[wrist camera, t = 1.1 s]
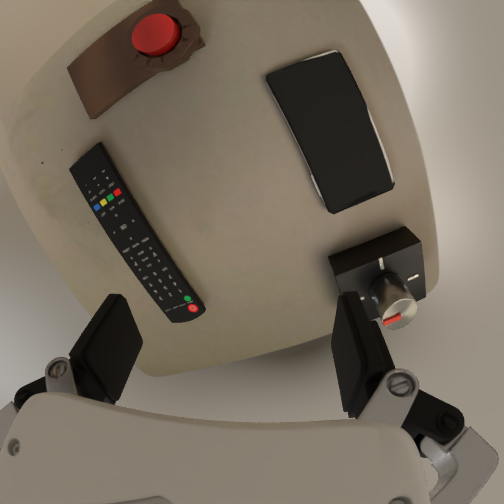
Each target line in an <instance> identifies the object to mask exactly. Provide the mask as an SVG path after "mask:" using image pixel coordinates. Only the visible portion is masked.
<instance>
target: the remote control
mask: <svg viewBox="0 0 504 504" xmlns="http://www.w3.org/2000/svg"><path fill="white" fill-rule="evenodd" d="M69 170H70V172H71V174H72V176H73V178H74V180H75V181H76V183H77V185H78V187H79V189H80V190H81V192H82V194H83V196H84V197H85V199H86V201H87V202H88V204H89V206H90V207H91V209H92V211H93V212H94V214H95V216H96V217H97V219H98V221H99V222H100V224H101V225H102V227H103V229H104V230H105V232H106V233H107V235H108V236H109V238H110V239H111V241H112V242H113V244H114V245H115V247H116V248H117V250H118V251H119V253H120V254H121V256H122V257H123V259H124V260H125V262H126V263H127V264H128V266H129V267H130V269H131V270H132V271H133V273H134V274H135V276H136V277H137V278H138V280H139V281H140V282H141V284H142V285H143V286H144V288H145V289H146V290H147V292H148V293H149V294H150V296H151V297H152V298H153V300H154V301H155V302H156V303H157V305H158V306H159V307H160V309H161V310H162V311H163V312H164V314H165V315H166V316H167V317H168V319H169V320H170V321H171V322H172V323H182V322H187V321H191V320H193V319H195V318H197V317H199V316H200V315H202V314H203V313H204V312H205V310H206V308H205V306H204V305H203V304H202V302H201V301H200V300H199V298H198V297H197V295H196V294H195V293H194V291H193V290H192V288H191V287H190V286H189V284H188V283H187V281H186V280H185V278H184V277H183V275H182V274H181V273H180V271H179V270H178V268H177V267H176V265H175V264H174V262H173V261H172V259H171V258H170V256H169V255H168V253H167V252H166V250H165V249H164V247H163V246H162V244H161V243H160V241H159V240H158V238H157V236H156V235H155V233H154V232H153V230H152V229H151V227H150V225H149V224H148V222H147V221H146V219H145V217H144V216H143V214H142V213H141V211H140V209H139V208H138V206H137V204H136V203H135V201H134V199H133V198H132V196H131V194H130V193H129V191H128V189H127V188H126V186H125V184H124V182H123V181H122V179H121V177H120V175H119V174H118V172H117V170H116V168H115V167H114V165H113V163H112V161H111V159H110V158H109V156H108V154H107V152H106V150H105V148H104V147H103V145H102V143H101V142H100V143H97V144H96V145H95V146H94V147H93V148H92V149H90V150H89V151H88V152H87V153H86V154H85V155H84V156H82V157H81V158H80V159H79V160H78V161H77V162H76V163H75V164H74V165H73V166H72V167H71V168H70V169H69Z"/></svg>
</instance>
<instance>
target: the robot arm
mask: <svg viewBox="0 0 504 504" xmlns="http://www.w3.org/2000/svg"><path fill="white" fill-rule="evenodd" d="M142 344H143V340H142V337H141V335H140V332H139V330H138V328H137V325H136V323H135V320H134V318H133V315H132V313H131V310H130V308H129V305H128V303H127V300H126V298H124V297H123V296H122V295H121V294H109V295H108V296H107V298H106V299H105V301H104V302H103V303H102V305H101V306H100V308H99V309H98V311H97V312H96V313H95V315H94V316H93V318H92V319H91V321H90V322H89V324H88V325H87V327H86V328H85V330H84V331H83V333H82V334H81V336H80V337H79V339H78V340H77V342H76V343H75V345H74V347H73V348H72V350H71V351H70V353H69V356H70V357H71V358H70V359H69V360H68V359H67V358H65V357H58V358H55V359H54V360H52V361H51V362H50V363H49V364H48V365H47V367H46V369H45V376H44V377H42V378H40V379H38V380H36V381H34V382H32V383H30V384H27V385H25V386H23V387H22V388H20V389H19V390H18V391H17V393H16V395H15V398H14V403H13V402H12V401H11V402H10V403H9V404H8V405H6V406H5V407H4V408H3V409H2V410H0V504H469V503H470V502H471V501H472V500H473V499H474V497H475V496H476V495H477V494H478V492H479V491H480V490H481V488H482V487H483V486H484V485H485V483H486V482H487V481H488V479H489V478H490V476H491V475H492V473H493V472H494V470H495V469H496V467H497V465H498V460H499V458H498V454H497V452H496V451H495V449H493V447H491V446H490V445H489V444H488V443H487V442H486V441H485V440H484V439H483V438H482V437H481V436H480V435H479V434H478V433H477V432H476V431H475V430H474V429H472V428H471V427H469V428H467V427H466V426H465V425H464V417H463V414H462V413H461V412H460V410H459V409H457V408H456V407H454V406H452V405H450V404H448V403H445V402H443V401H442V400H439V399H437V398H435V397H433V396H431V395H429V394H427V393H426V392H424V391H422V390H420V389H419V381H418V379H417V377H416V376H415V375H414V374H413V373H412V372H410V371H408V370H405V369H395V366H394V364H393V361H392V358H391V355H390V353H389V350H388V348H387V345H386V343H385V340H384V337H383V336H382V333H381V330H380V328H379V326H378V323H377V322H376V321H375V320H374V321H369V318H368V316H367V313H366V311H365V308H364V306H363V303H362V301H361V298H360V296H359V294H358V292H357V291H347V292H343V295H339V297H338V303H337V310H336V316H335V322H334V328H333V334H332V340H331V347H332V353H333V358H334V362H335V368H336V373H337V378H338V384H339V388H340V394H341V400H342V406H343V411H344V412H348V415H349V418H353V417H355V418H356V419H349V420H348V419H347V420H346V419H345V420H344V419H343V420H325V421H311V422H280V423H252V422H227V421H212V420H201V419H192V418H183V417H176V416H168V415H162V414H156V413H150V412H145V411H140V410H135V409H130V408H125V407H121V406H116V405H115V403H116V401H117V400H119V398H120V396H121V394H122V391H123V389H124V386H125V384H126V382H127V379H128V377H129V374H130V372H131V370H132V367H133V365H134V363H135V361H136V359H137V356H138V354H139V352H140V350H141V347H142ZM421 457H423V458H428V459H429V460H431V462H432V463H433V464H432V466H433V467H434V468H435V469H436V471H437V472H438V476H439V479H438V482H437V484H436V486H435V487H434V488H433V489H432V490H431V491H430V492H429V490H428V485H427V480H426V475H425V471H424V467H423V463H422V460H421Z"/></svg>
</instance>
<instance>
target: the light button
mask: <svg viewBox="0 0 504 504" xmlns="http://www.w3.org/2000/svg"><path fill="white" fill-rule="evenodd" d="M179 36H180V29H179V26H178V24H177V23H176V22H175V21H174V20H172V19H171V18H170V17H169V16H167V15H165V14H153V15H150V16H147V17H145V18H144V19H142V20H141V21H140V22H139V23H138V24H137V25H136V27H135V28H134V31H133V33H132V43H133V45H134V47H135V48H136V49H137V50H139V51H141V52H144V53H146V54H149V55H161V54H164V53H166V52H168V51H169V50H170V49H172V48H173V47H174V46H175V44H176V43H177V41H178V39H179Z"/></svg>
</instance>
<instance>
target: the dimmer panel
mask: <svg viewBox="0 0 504 504" xmlns="http://www.w3.org/2000/svg"><path fill="white" fill-rule="evenodd" d="M328 258H329V261H330V264H331V267H332V270H333V273H334V275H335V278H336V281H337V284H338V287H339V290H340V293H341V295H343V292H347V291H357V292H358V294H359V296H360V298H361V301H362V303H363V306H364V308H365V311H366V313H367V316H368V318H369V321H371V320H373V319H376V318H378V317H379V314H378V312H377V310H376V308H375V305H374V303H373V301H372V299H371V297H370V288H371V286H372V284H373V282H374V281H375V280H376V279H377V278H378V277H380V276H382V275H384V274H387V273H395V274H397V275H399V276H400V277H401V279H402V280H403V282H404V283H405V285H406V286H407V288H408V289H409V291H410V293H411V294H412V296H413V297H414V299H415V300H416V301H419V300H421V299H423V298H425V297H426V288H425V273H424V262H423V253H422V244H421V241H420V240H419V239H418V238H417V237H416V236H415V235H414V234H413V233H412V232H411V231H410V230H409V229H408V228H407V227H406V226H405V227H403V228H400V229H398V230H395V231H393V232H390V233H388V234H385V235H383V236H380V237H378V238H375V239H373V240H370V241H368V242H365V243H363V244H360V245H358V246H355V247H352V248H350V249H347V250H345V251H342V252H339V253H337V254H334V255H331V256H329V257H328Z"/></svg>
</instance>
